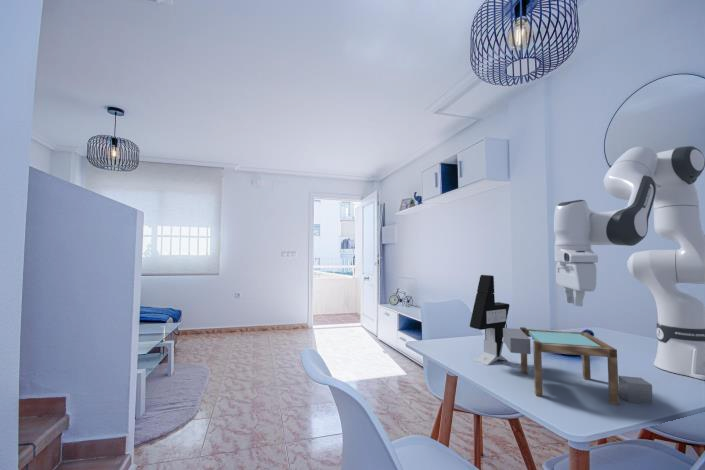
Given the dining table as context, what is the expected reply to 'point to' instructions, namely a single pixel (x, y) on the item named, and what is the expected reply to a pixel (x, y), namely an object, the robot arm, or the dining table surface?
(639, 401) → the weight
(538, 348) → the frame
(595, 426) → the dining table surface
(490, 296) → the award
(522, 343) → the trapdoor
